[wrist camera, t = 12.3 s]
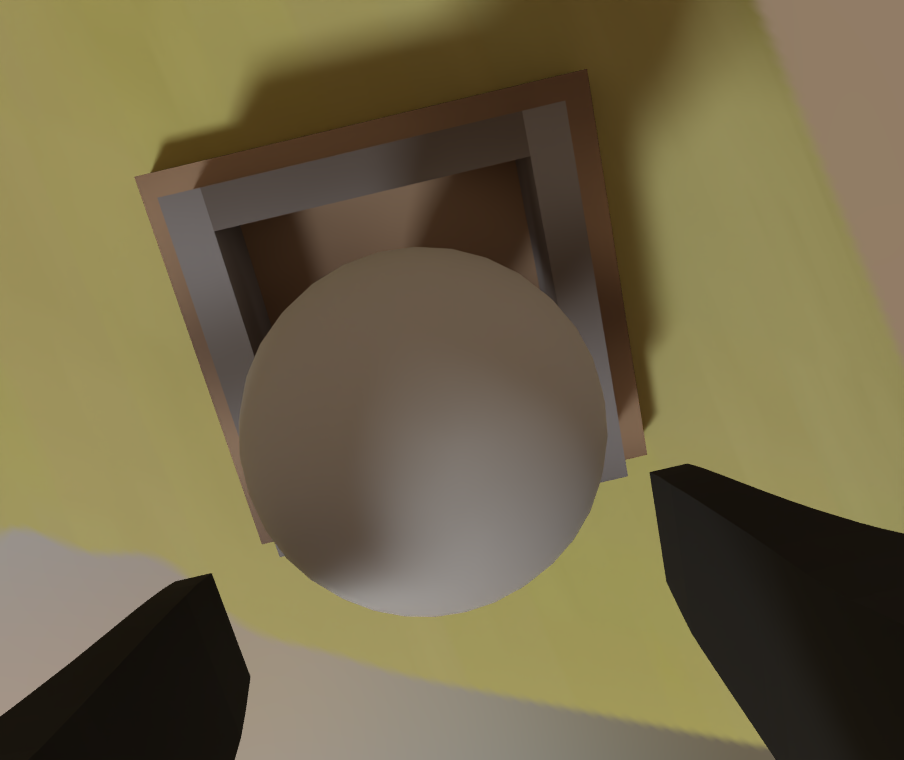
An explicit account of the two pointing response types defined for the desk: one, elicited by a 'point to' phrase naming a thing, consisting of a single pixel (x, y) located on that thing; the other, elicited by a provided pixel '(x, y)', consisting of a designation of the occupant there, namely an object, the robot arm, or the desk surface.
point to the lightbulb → (422, 431)
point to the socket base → (400, 228)
